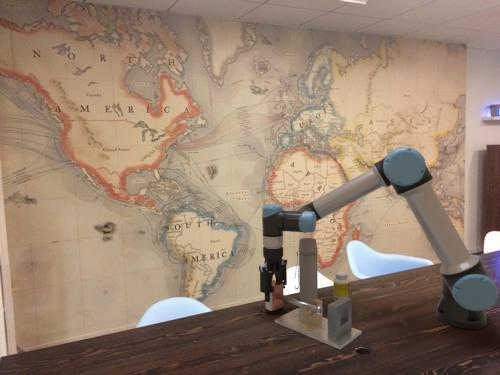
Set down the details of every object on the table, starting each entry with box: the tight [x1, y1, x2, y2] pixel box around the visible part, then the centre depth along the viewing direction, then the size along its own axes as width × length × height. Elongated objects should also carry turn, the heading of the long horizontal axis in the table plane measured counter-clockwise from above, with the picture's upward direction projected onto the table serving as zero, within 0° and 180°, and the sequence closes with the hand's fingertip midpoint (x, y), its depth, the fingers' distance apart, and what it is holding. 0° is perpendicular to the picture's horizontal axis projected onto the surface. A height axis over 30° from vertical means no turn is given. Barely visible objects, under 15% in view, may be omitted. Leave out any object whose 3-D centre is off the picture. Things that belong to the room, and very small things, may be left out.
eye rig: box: [274, 296, 363, 350], centre depth 118 cm, size 26×13×12 cm, turn 45°
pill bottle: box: [333, 271, 350, 301], centre depth 141 cm, size 6×6×11 cm
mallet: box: [264, 279, 324, 315], centre depth 125 cm, size 24×5×9 cm, turn 45°
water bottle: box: [294, 237, 319, 304], centre depth 140 cm, size 9×8×25 cm
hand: (274, 307), depth 132 cm, fingers closed on mallet, 5 cm apart
